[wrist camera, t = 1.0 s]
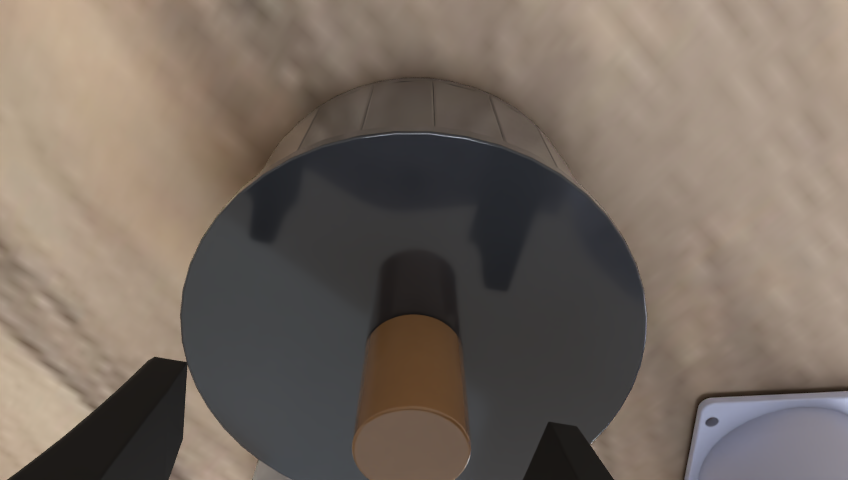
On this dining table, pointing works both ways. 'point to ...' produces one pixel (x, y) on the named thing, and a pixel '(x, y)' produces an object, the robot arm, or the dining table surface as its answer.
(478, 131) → the pot
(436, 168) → the lid
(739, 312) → the dining table surface
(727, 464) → the robot arm
